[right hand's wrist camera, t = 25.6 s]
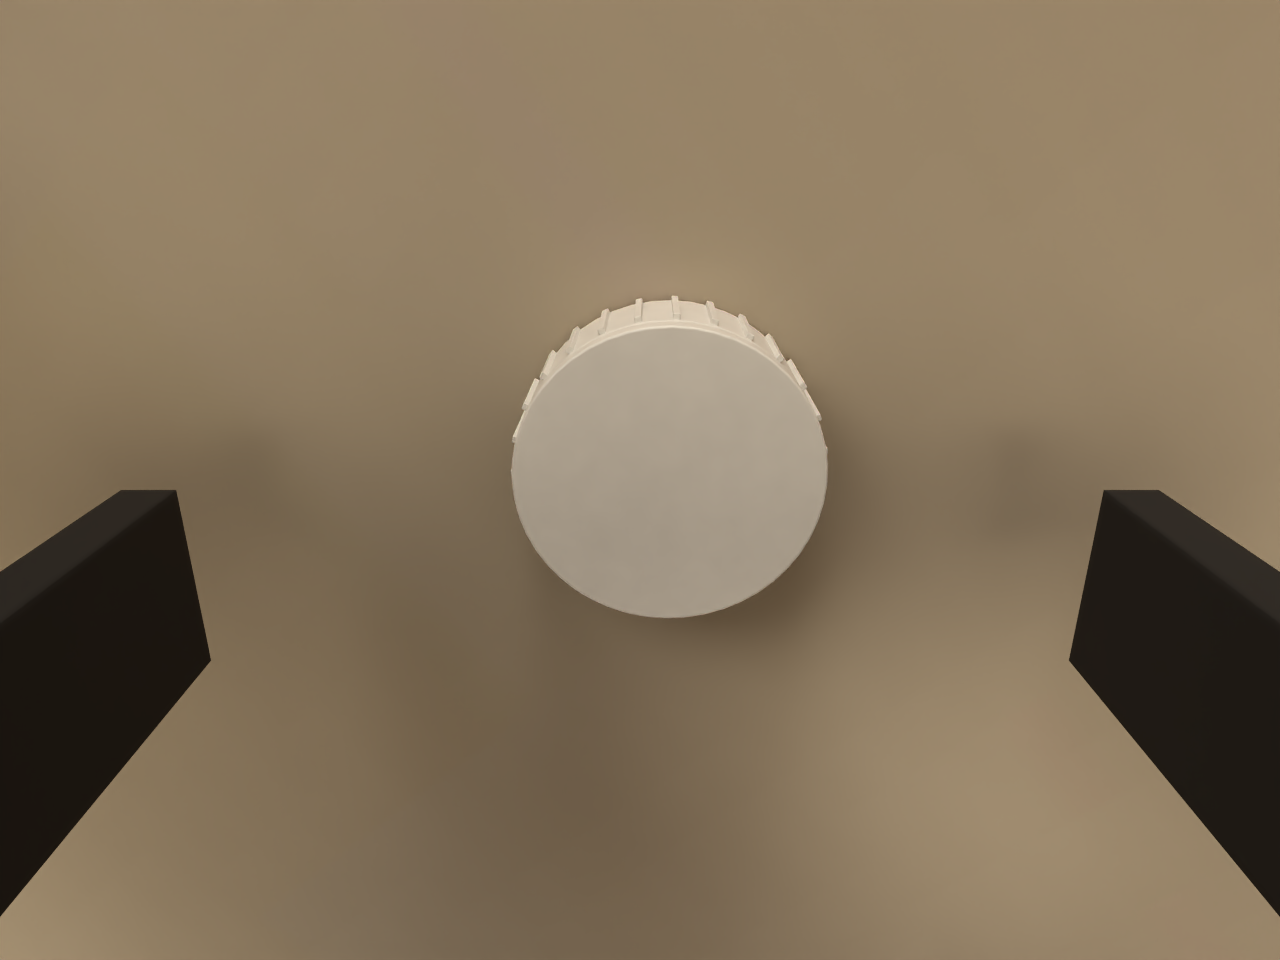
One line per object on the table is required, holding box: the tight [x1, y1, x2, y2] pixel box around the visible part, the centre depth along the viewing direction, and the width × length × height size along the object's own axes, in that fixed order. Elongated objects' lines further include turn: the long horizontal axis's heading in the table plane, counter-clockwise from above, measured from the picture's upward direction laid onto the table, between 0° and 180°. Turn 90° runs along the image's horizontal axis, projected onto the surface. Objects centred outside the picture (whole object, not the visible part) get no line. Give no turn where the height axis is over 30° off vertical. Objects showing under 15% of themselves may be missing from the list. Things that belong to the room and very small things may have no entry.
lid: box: [511, 296, 828, 618], centre depth 15 cm, size 5×5×2 cm
